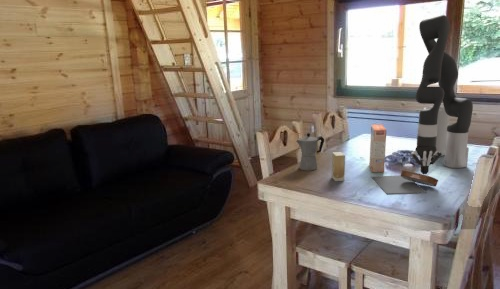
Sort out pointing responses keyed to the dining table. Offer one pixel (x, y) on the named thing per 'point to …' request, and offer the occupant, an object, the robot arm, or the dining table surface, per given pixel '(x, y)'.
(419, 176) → the tin
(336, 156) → the skincare box
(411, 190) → the mat
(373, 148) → the cracker box
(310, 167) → the coffeepot
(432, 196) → the dining table surface
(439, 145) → the cylinder vase
